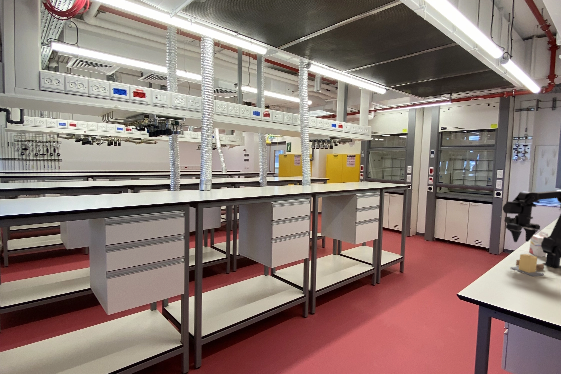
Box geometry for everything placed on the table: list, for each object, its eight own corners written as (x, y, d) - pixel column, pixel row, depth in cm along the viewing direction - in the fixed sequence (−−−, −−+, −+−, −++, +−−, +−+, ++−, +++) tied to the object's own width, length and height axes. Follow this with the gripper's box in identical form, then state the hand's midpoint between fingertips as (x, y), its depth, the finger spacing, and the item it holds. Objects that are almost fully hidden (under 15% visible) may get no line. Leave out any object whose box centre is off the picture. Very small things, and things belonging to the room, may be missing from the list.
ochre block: (525, 268, 159) (526, 253, 158) (535, 271, 154) (537, 257, 153) (518, 269, 157) (520, 254, 157) (528, 272, 153) (530, 257, 152)
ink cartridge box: (528, 252, 192) (531, 229, 191) (537, 253, 191) (540, 230, 190) (536, 256, 184) (539, 233, 183) (546, 257, 183) (549, 233, 182)
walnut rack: (526, 264, 168) (526, 258, 168) (543, 269, 160) (544, 264, 160) (515, 265, 166) (516, 259, 165) (532, 270, 158) (533, 265, 157)
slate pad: (520, 267, 162) (521, 266, 162) (543, 275, 152) (544, 273, 152) (510, 268, 160) (510, 267, 160) (533, 276, 149) (533, 275, 149)
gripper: (520, 211, 175) (517, 237, 176) (497, 211, 169) (494, 238, 171) (542, 215, 164) (538, 242, 166) (518, 215, 159) (514, 244, 160)
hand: (521, 241), depth 166 cm, fingers open, 9 cm apart
